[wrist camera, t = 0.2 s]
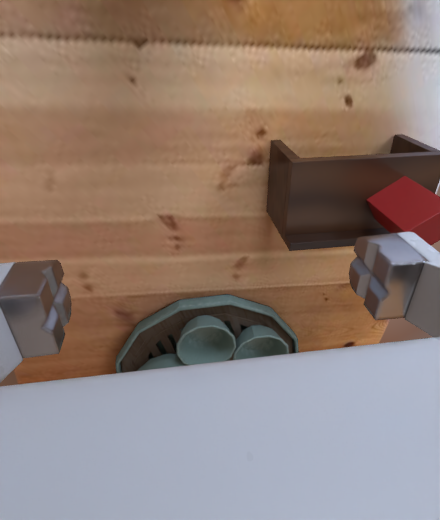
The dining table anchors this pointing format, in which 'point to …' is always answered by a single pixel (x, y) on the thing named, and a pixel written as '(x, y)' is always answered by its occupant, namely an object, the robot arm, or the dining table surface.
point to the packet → (408, 209)
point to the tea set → (206, 334)
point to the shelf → (339, 191)
